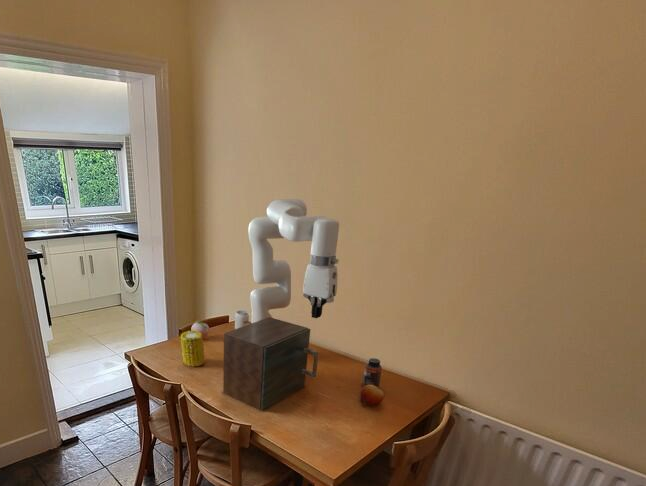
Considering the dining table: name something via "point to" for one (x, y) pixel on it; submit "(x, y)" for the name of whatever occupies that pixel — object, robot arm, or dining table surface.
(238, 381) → the cupboard
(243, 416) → the dining table surface
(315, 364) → the door
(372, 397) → the fruit
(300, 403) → the dining table surface
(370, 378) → the supplement bottle
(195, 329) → the decorative fruit
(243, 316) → the beverage can
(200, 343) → the food
